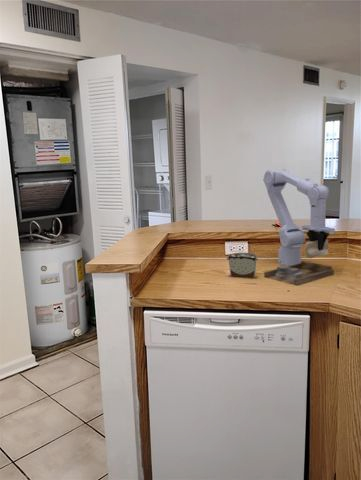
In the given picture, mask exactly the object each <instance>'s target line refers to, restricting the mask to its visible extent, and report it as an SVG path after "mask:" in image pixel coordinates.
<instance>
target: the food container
mask: <svg viewBox="0 0 361 480" xmlns="http://www.w3.org/2000/svg"><path fill="white" fill-rule="evenodd" d="M226 260H228V264H229V272H230V278H243V279H252V280H253V279H255V277H256V268H257V262H258V261H259V260H258V256H257V254H256V253H251V252H234V253H233V252H232V253H229V254H228V255H227V258H226Z"/></svg>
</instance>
